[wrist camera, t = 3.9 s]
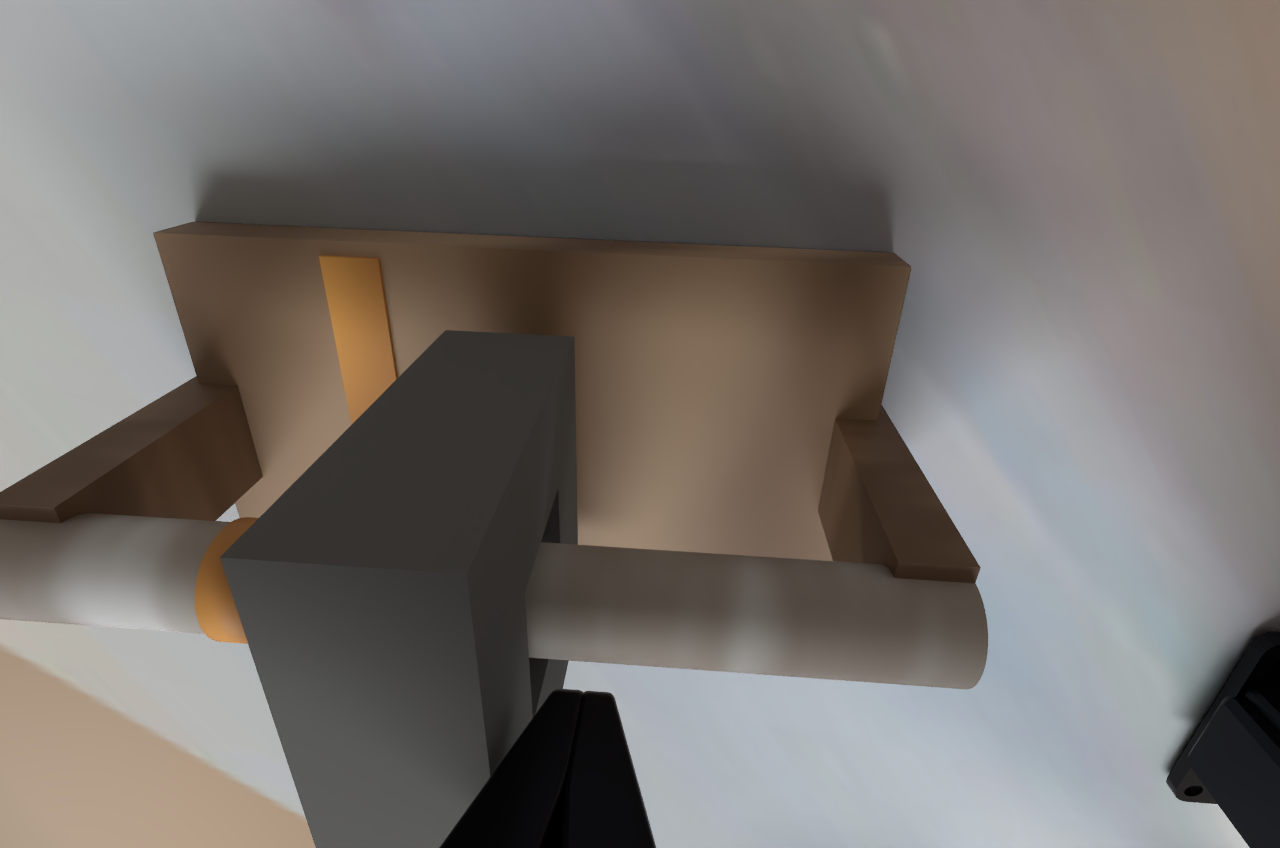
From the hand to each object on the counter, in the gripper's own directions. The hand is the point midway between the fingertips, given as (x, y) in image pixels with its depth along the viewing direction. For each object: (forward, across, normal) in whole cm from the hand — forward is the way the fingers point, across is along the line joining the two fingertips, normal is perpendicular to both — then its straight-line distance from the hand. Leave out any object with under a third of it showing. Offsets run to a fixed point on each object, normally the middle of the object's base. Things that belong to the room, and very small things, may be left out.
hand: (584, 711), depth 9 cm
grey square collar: (+5, +2, 0) cm, 6 cm away
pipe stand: (+8, +2, 0) cm, 8 cm away
